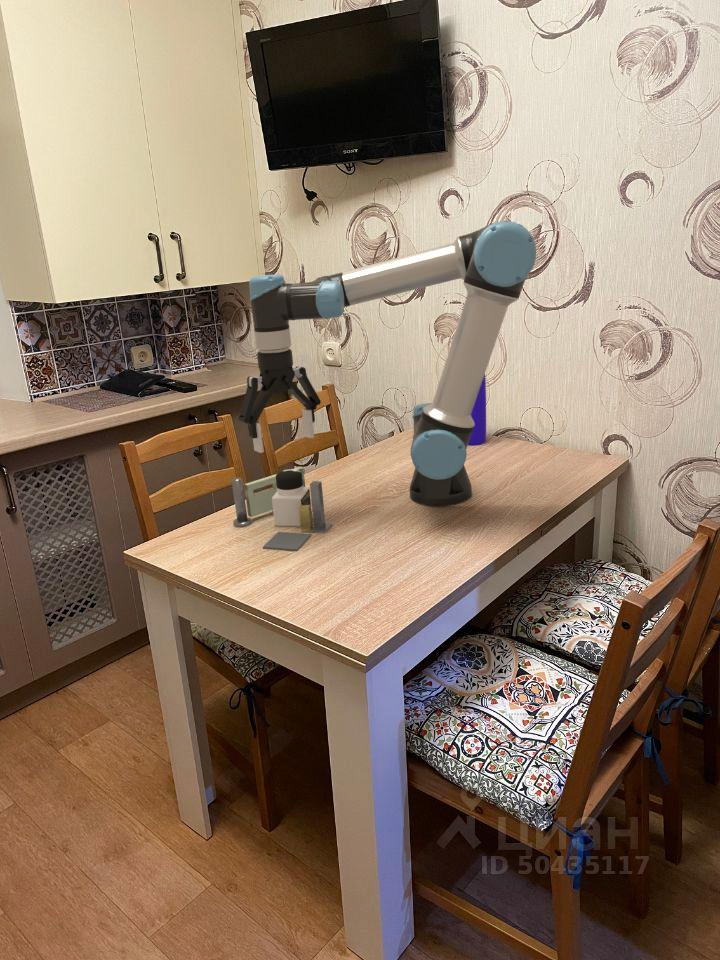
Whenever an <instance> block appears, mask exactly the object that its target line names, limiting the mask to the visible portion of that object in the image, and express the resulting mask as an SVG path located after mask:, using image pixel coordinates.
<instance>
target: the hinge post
mask: <svg viewBox="0 0 720 960" xmlns="http://www.w3.org/2000/svg"><path fill="white" fill-rule="evenodd" d="M243 481H244V480H243V478H242V477H240V476H239V477H233V478H232V479H231V485H232V491H233V492H232V493H233V499H234V507H235V514H236V519H234V520H233V522H232V523H233V526H234V527H235V528H236V527H238V528H243V527H248V526H251V525H252V524H253V519H252V517H249V516H248V511H247V503H246V496H245V489H244V482H243Z"/></svg>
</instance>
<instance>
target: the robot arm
mask: <svg viewBox="0 0 720 960" xmlns="http://www.w3.org/2000/svg"><path fill="white" fill-rule="evenodd" d="M536 259H537V247H536V243H535V240H534V237H533V236H532V234H531V233H530V231H529V230H528V229H527V228H526V227H525V226H523V224H521V223H517V222H516V221H509V220H499V221H497V222H492V223H489V224H487V225H486V226H484V227H482V228H480V229H478V230H475V231H473V232H470V233H466V234H464V235H460V236H457V237H456V239H455V240H454V241H453V242H452V243H448V244H444V245H440V246H437V247H433V248H430V249H426V250H421V251H419V252H414V253H410V254H407V255H402V256H399V257H395V258H391V259H388V260H383V261H380V262H376V263H373V264H367V265H365V266H360V267H357V268H354V269H349V270H346V271H343V272H339V273H335V274H331V275H324V276H320V277H317V278H315V280H312V281H309V282H297V283H288V282H286V281H285V277H284V275H282V274H280V273H278V274H264V275H263V274H262V275H256V276H252V277H251V278H250V280H249V281H248V284H249V285H248V286H249V302H250V308H251V309H250V310H251V316H252V323H253V329H254V331H253V332H254V338H255V347H256V350H258V352H257V354H256V358H257V364H258V371H259V376H248V377H247V378H246V391H245V395H244V398H243V402H242V405H241V408H240V412H239V416H238V421H239V422H241V423H245V424H247V429H248V436H249V438H251V439H252V441H253V442H252V443H253V449H254V452H258V453H260V454H262V453H264V450H265V449H264V443H263V436H262V427H261V423H260V422H258V420H259V418H260V417H261V415H262V413H263V411H264V409H265V407H266V405H267V404H268V401H269V399H270V398H271V397H273V394H274V395H277V394H280V393H284V392H285V393H286V392H290V394H291V395H292V396H293V397H294V398H296V399H297V401H299V403H301V405H302V406H303V407H304V408H302V409H301V414H302V423H303V432H304V437H306V438H309V439H314V438H315V432H314V423H315V421H316V418H315V417H316V416H315V410H316V409H317V407H318V406H319V405H321V402H322V401H321V399H320V397H319V395H318V394H317V392H316V390H315V388H314V386H313V385H312V383H311V381H310V379H309V378H308V376H307V369H306V367H303V366H299V365H296V366H295V367H294V368H293V366H294V359H293V351H292V350H291V346H292V340H291V338H292V337H291V330H290V321H298V320H300V321H301V320H302V321H303V320H321V319H322V320H323V319H325V320H330V319H332V318H340V317H342V316H343V315H344V311H345V310H344V309H345V308H348V307H350V306H354V305H359V304H362V303H365V302H371V301H375V300H379V299H383V298H387V297H391V296H394V295H399V294H404V293H406V292H411V291H415V290H419V289H423V288H427V287H431V286H434V285H435V286H436V285H440V284H443V283H447V282H451V281H456V280H459V279H461V280H463V285H464V288H465V290H466V292H467V295H466V298H465V300H464V303H463V306H462V310H461V312H460V316H459V319H458V322H457V325H456V329H455V331H454V334H453V339H452V342H451V344H450V347H449V351H448V354H447V357H446V360H445V362H444V366H443V369H442V372H441V376H440V379H439V381H438V384H437V387H436V391H435V394H434V397H433V400H432V402H426V403H419V404H417V405H415V406H414V407H413V411H412V412H413V413H412V419H413V434H412V435H413V436H412V442H411V443H412V444H411V447H410V457H411V461H412V463H413V464H412V465H414V471H413V474H412V478H411V482H410V486H409V498H410V499H411V501H413V502H414V503H416V504H419V505H423V506H427V507H428V506H429V507H448V506H454V505H458V504H461V503H464V502H466V501H468V500H469V499H471V497H472V495H473V492H472V491H473V488H472V483H471V480H470V477H469V474H468V472H467V470H466V467H465V464H466V461H467V454H468V453H467V447H468V446H469V445H468V443H469V440H470V437H471V434H472V431H473V428H474V425H475V423H474V421H473V419H472V417H471V412H472V409H473V407H474V404H475V401H476V398H477V395H478V392H479V389H480V386H481V383H482V380H483V377H484V375H485V376H486V371H487V369H488V365H489V362H490V360H491V356H492V354H493V351H494V348H495V345H496V343H497V339H498V337H499V333H500V331H501V328H502V324H503V322H504V319H505V316H506V313H507V311H508V308H509V306H510V305H512V304H513V303H515V302H517V301H519V299H520V297H521V293H522V291H523V288H524V285H525V283H526V282H525V281H526V278H527V277H528V276H529V275H530V274H531V272H532V270H533V269H534V266H535V264H536ZM294 378H297V381H298V383H299V384H300V386H301V388H302V390H303V391H304V392H303V391H301V389H300V388H299V386H298V385H297V384H296V383H295V382H294ZM261 385H262V386H261ZM260 386H261V387H260ZM259 387H260V389H259ZM258 389H259V392H258ZM257 394H258V396H257ZM256 397H257V398H256Z"/></svg>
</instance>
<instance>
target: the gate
mask: <svg viewBox="0 0 720 960" xmlns="http://www.w3.org/2000/svg"><path fill="white" fill-rule="evenodd" d="M291 469H292V470H298V471H300V472H301V473H302V479H303V487H306V480H305V471H304V470H305V469H304V467H302V466H298V467H295V468H291ZM277 474H278V473H276V474H273V475H269V476H267V477H262V478H260V479H257V480H253V481H250V482H247V483H243V489H244V496H245V504H246V511H247V517H249V518H253V517H257V516H260V515H262V514H265V513H268V512H271V511H273V505H272V497H273V496H274V495H275V493H276V492H277V484H276V475H277ZM270 485H272V487H269V488H267V489H264V490H260V491H258V492H255V493H254V490H258V489H261V488H263V487H266V486H270Z"/></svg>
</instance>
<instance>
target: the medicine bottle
mask: <svg viewBox="0 0 720 960" xmlns="http://www.w3.org/2000/svg"><path fill="white" fill-rule="evenodd" d="M292 469H293V468H291V469H284V470H281V471H279V472H278V473H276V474H277V475H276V484H277V492H276V493H275V495H274V496H273V497H272V505H273V510H272V513H273V521H274V526H275V527H301V525H300V515H299V506H300V505H311V506H312V502H311V492H310V486H305V487H303V479H302V473H301V472H300V471H298V470H292ZM311 514H312V515H313V512H312V509H311Z"/></svg>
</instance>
